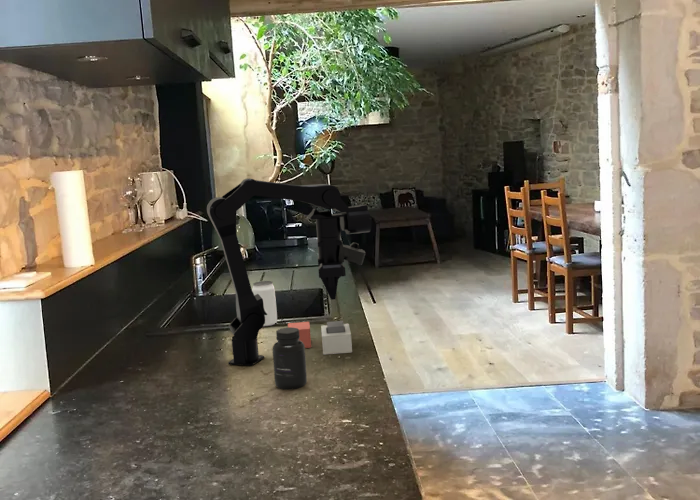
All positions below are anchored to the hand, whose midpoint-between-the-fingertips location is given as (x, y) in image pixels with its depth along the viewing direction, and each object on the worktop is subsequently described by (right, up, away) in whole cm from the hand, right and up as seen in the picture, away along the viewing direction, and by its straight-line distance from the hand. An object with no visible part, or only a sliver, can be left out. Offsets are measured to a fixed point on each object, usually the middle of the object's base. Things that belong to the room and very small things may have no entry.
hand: (333, 299), depth 169 cm
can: (-20, -9, +29) cm, 37 cm away
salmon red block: (-9, -12, +7) cm, 16 cm away
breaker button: (+1, -9, +2) cm, 9 cm away
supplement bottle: (-8, -17, -22) cm, 29 cm away
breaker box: (+1, -12, +2) cm, 12 cm away
